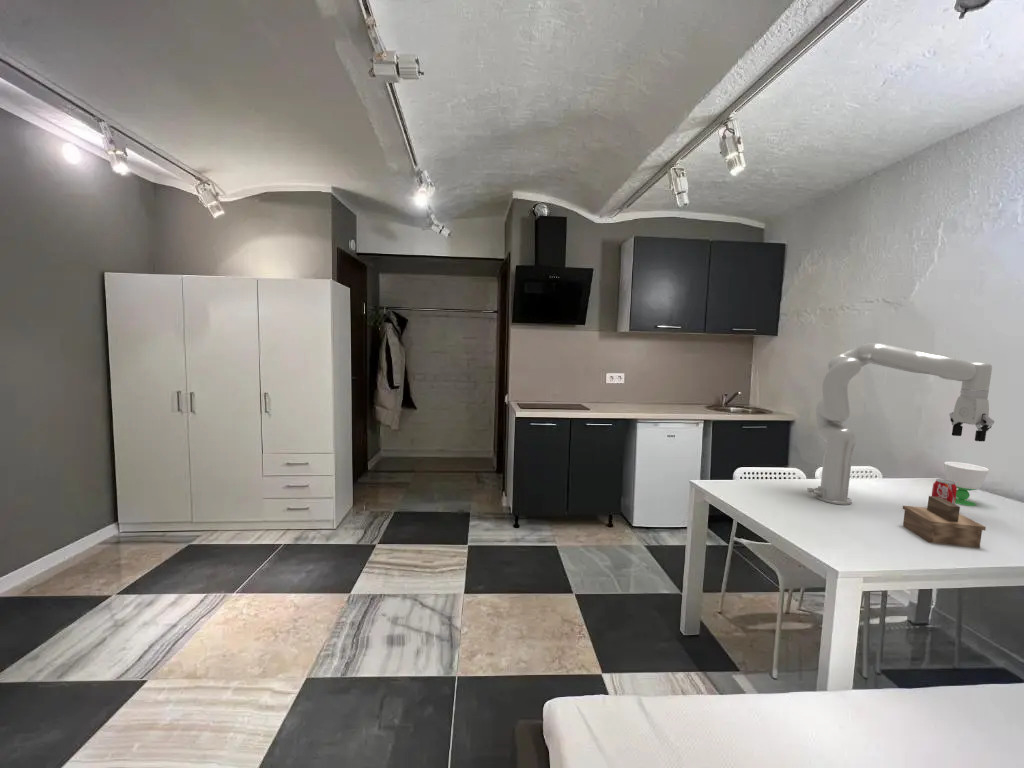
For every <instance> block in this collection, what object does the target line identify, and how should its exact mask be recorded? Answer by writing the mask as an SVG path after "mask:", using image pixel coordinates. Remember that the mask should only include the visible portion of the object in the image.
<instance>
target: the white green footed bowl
mask: <svg viewBox="0 0 1024 768" xmlns="http://www.w3.org/2000/svg"><path fill="white" fill-rule="evenodd" d="M943 465H944V474H945V478H946V479H945V480H948V481H952V482H955V485H956V487H957V492H956V500H955V505H961V506H967V507H969V506H970V507H974V506H976V505H977V504H976V503H975V502H973V501H971V500H968V499H969V498H970V496H971V495H970V494H971V493H970V492H969V491H971V492H972V491H977V490H979V489H980V488H981V487H982V486H983V485H984V482H985V479H986V477H987V475H988V472H989V471H990V470H989V468H987V467H984V466H982V465H977V464H972V463H967V462H959V461H945V462H943Z"/></svg>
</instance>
